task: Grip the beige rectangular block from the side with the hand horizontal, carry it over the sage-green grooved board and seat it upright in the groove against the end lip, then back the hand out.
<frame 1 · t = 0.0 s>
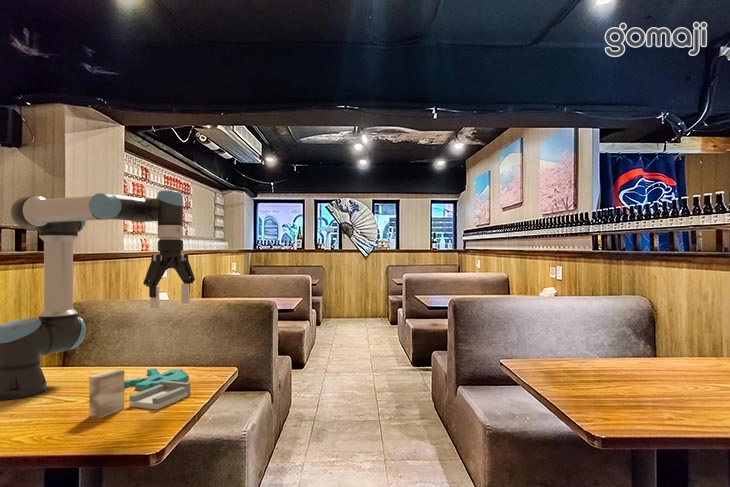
hand: (170, 305, 147), 28 cm above the table, tool pointing down, fingers open, 13 cm apart
beige rectangular block: (107, 412, 130), on the table
groove board: (161, 400, 140), on the table
alien figure: (157, 383, 162), on the table
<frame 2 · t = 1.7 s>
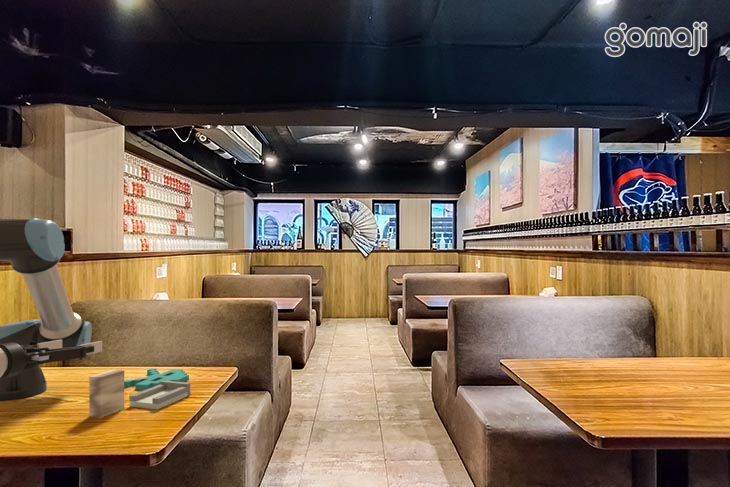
hand: (81, 345, 123), 20 cm above the table, tool horizontal, fingers open, 13 cm apart
nothing on the table moved.
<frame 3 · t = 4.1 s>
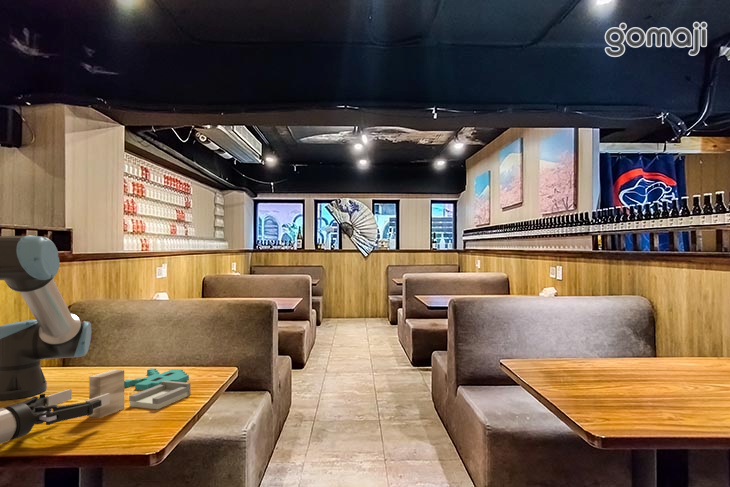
hand: (89, 396, 124), 6 cm above the table, tool horizontal, fingers open, 13 cm apart
nothing on the table moved.
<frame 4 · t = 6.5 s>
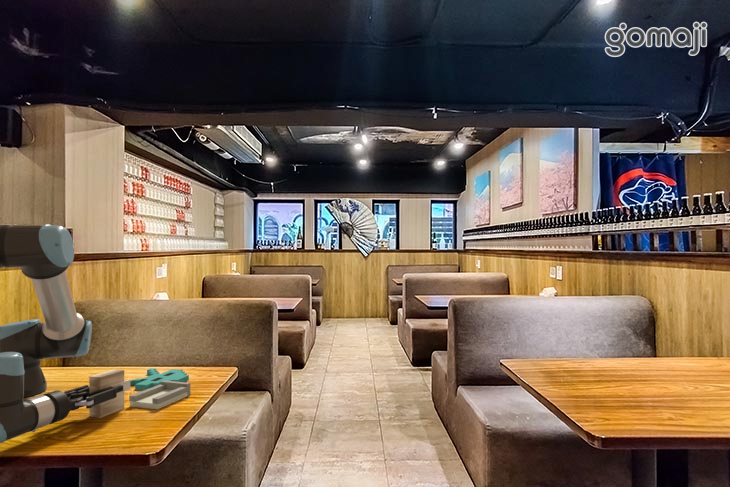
hand: (122, 383, 135), 7 cm above the table, tool horizontal, fingers closed on beige rectangular block, 4 cm apart
beige rectangular block: (107, 412, 130), on the table, touching gripper
everything else where it was.
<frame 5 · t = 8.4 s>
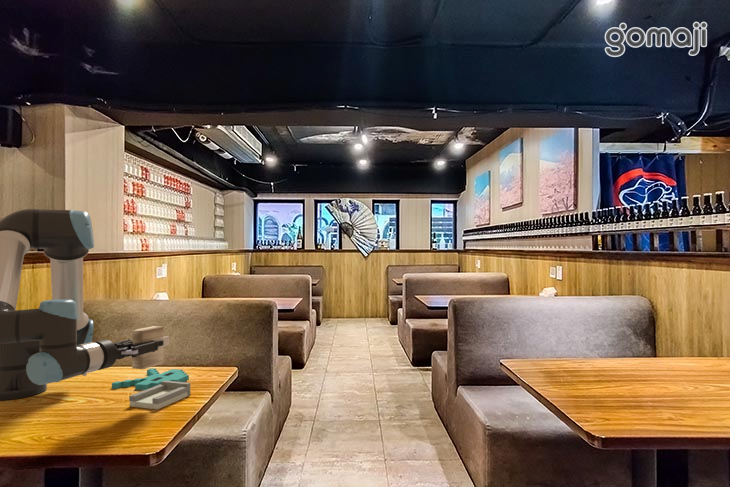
hand: (162, 340, 142), 18 cm above the table, tool horizontal, fingers closed on beige rectangular block, 4 cm apart
beige rectangular block: (148, 365, 137), point 11 cm above the table, touching gripper
everything else where it was.
when the fingers open (10 cm above the table, at t = 10.4 s): beige rectangular block drops 2 cm, resting on groove board.
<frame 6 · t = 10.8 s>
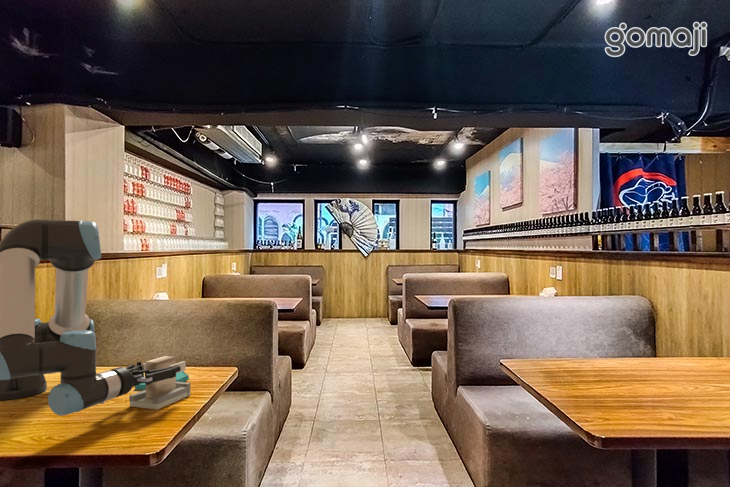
hand: (171, 364, 145), 10 cm above the table, tool horizontal, fingers open, 9 cm apart
beige rectangular block: (161, 395, 140), point 1 cm above the table, touching groove board
everything else where it was.
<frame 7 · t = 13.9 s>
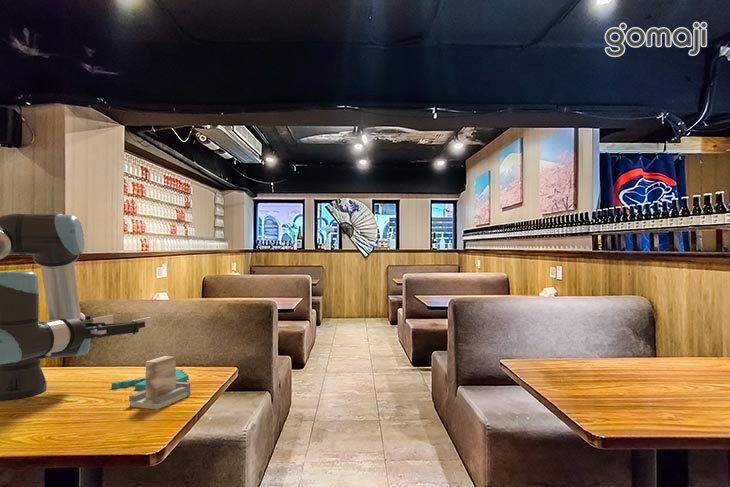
hand: (131, 320, 130), 26 cm above the table, tool horizontal, fingers open, 13 cm apart
nothing on the table moved.
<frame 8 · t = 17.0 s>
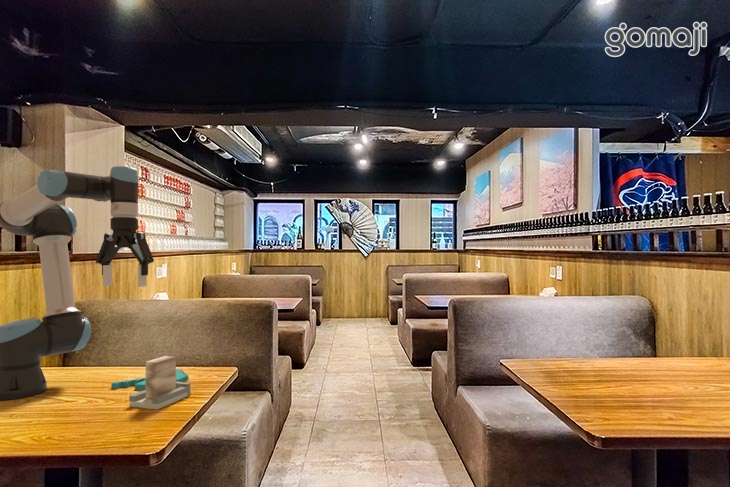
hand: (124, 286, 142), 35 cm above the table, tool pointing down, fingers open, 13 cm apart
nothing on the table moved.
at the end: beige rectangular block inside the target area on the groove board (0.5 cm from its centre), point 1.5 cm above the groove board's base; beige rectangular block tilted 0°; the gripper is holding nothing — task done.
